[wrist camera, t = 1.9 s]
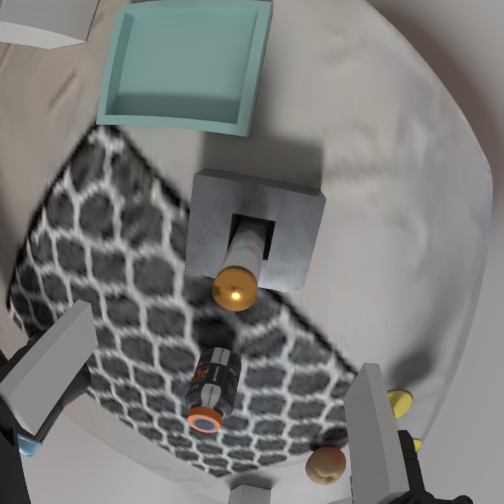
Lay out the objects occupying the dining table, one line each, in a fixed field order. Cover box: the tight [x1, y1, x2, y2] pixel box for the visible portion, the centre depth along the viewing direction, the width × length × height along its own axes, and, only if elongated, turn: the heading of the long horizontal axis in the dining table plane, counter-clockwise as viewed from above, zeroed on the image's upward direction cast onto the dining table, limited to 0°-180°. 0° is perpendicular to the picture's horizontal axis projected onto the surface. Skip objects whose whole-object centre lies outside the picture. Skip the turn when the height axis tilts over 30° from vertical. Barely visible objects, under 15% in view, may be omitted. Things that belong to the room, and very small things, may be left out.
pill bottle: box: [185, 347, 241, 432], centre depth 34 cm, size 6×6×11 cm
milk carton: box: [0, 0, 99, 49], centre depth 14 cm, size 7×7×19 cm
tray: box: [96, 0, 273, 137], centre depth 24 cm, size 16×14×3 cm
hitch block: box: [185, 169, 326, 295], centre depth 29 cm, size 12×10×4 cm
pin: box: [212, 215, 268, 311], centre depth 25 cm, size 3×3×14 cm
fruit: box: [305, 446, 346, 485], centre depth 44 cm, size 8×8×8 cm
